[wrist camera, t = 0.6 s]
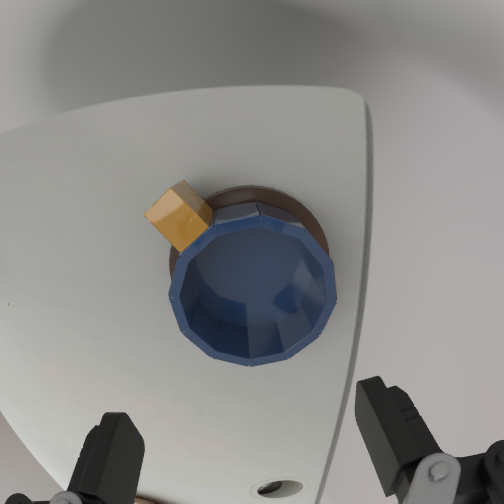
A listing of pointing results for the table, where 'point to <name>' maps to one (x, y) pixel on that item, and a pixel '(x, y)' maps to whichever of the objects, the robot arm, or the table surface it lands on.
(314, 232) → the turntable
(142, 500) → the bowl
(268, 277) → the serving bowl
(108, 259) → the table surface
